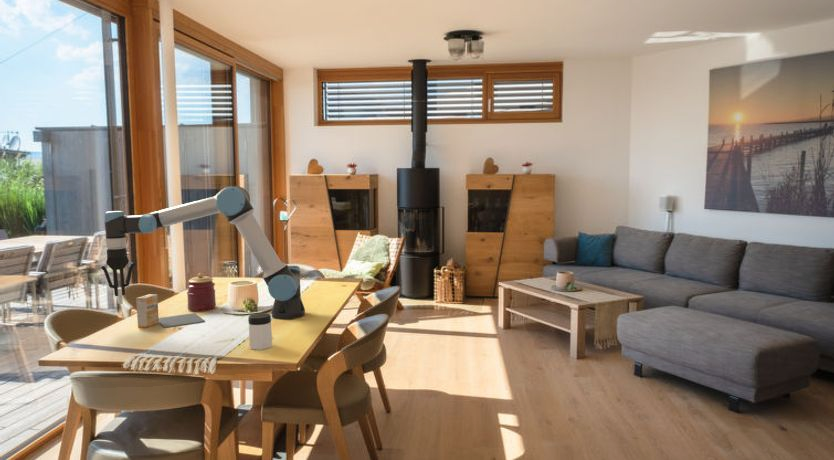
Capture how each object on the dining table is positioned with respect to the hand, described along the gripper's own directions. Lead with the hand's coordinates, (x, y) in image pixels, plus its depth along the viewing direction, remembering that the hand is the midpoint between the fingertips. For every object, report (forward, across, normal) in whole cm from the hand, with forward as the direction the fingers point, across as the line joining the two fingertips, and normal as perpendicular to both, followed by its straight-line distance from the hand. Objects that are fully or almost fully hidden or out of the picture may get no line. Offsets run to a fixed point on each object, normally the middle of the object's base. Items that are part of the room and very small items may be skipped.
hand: (120, 303), depth 247 cm
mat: (+11, -24, 0) cm, 26 cm away
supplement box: (+12, -10, 0) cm, 16 cm away
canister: (+12, -38, -18) cm, 43 cm away
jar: (+12, -39, +60) cm, 73 cm away
